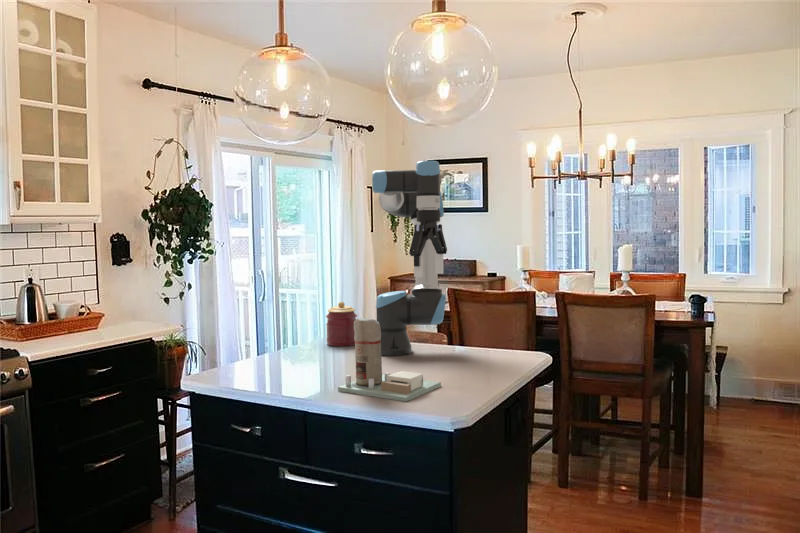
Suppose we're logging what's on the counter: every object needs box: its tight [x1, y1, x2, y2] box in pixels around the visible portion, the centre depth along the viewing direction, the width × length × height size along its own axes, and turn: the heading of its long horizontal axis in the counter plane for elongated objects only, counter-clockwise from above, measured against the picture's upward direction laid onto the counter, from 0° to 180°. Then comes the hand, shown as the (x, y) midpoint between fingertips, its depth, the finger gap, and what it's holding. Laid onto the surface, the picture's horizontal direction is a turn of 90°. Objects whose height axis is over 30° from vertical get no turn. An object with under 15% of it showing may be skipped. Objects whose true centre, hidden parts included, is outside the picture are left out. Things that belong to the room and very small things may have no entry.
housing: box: [388, 370, 424, 391], centre depth 194 cm, size 8×7×4 cm
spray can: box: [354, 317, 383, 385], centre depth 199 cm, size 8×8×20 cm
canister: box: [325, 301, 358, 347], centre depth 273 cm, size 13×13×18 cm
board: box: [337, 372, 442, 403], centre depth 198 cm, size 24×20×4 cm
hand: (429, 275), depth 213 cm, fingers open, 13 cm apart
